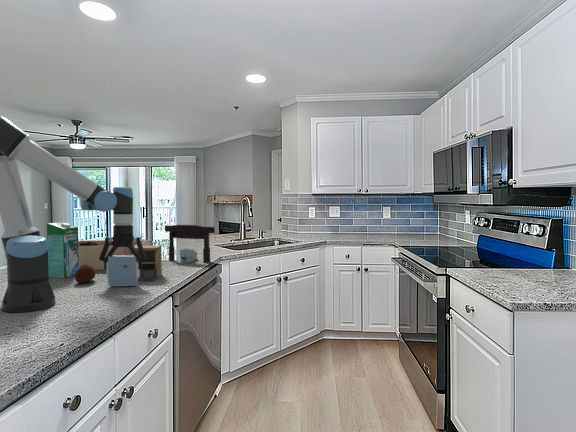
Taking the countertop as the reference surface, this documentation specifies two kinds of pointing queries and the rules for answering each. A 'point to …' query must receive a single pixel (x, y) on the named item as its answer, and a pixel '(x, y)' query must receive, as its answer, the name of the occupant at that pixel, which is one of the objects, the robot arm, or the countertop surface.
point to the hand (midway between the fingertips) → (123, 277)
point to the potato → (84, 274)
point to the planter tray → (99, 253)
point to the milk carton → (62, 250)
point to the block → (122, 270)
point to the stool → (189, 233)
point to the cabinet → (150, 263)
